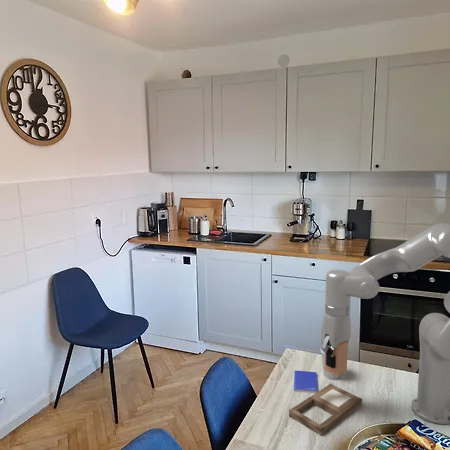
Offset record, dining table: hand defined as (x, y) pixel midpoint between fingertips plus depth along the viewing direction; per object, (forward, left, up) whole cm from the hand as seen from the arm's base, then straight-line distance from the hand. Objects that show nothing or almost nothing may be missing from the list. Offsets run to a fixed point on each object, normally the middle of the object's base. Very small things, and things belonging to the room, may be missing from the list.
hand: (335, 363), depth 127 cm
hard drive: (+14, -3, -15) cm, 21 cm away
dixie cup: (+11, -14, -14) cm, 23 cm away
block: (0, 0, -2) cm, 2 cm away
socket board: (0, +5, -14) cm, 15 cm away
